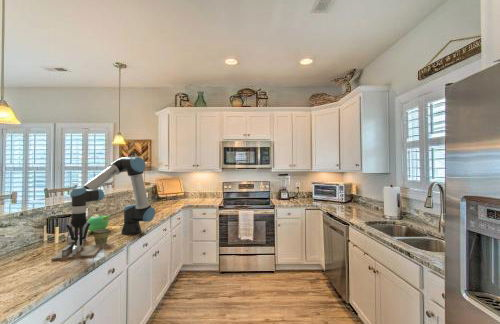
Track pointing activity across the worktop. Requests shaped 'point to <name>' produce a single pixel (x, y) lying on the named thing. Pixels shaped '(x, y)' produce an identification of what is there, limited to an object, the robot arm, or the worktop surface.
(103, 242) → the tan flower pot
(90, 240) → the worktop surface
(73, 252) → the tong jaw
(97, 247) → the board
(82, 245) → the lock collar
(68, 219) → the candy bar box
